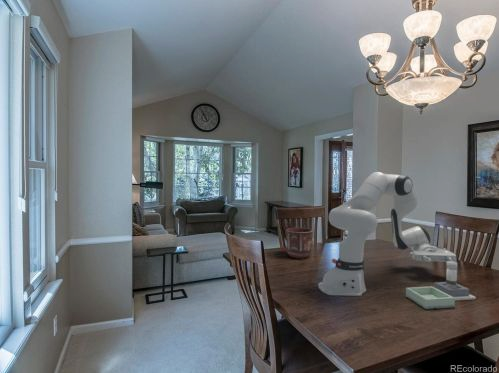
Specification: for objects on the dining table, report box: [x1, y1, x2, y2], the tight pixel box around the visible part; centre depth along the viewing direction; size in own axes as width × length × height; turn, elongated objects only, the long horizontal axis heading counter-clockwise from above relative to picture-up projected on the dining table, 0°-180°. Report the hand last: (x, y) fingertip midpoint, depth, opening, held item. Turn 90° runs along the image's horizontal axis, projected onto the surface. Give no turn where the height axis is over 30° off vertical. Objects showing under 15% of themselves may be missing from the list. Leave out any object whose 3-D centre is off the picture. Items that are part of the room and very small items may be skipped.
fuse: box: [445, 261, 458, 288], centre depth 140 cm, size 4×4×14 cm
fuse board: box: [433, 281, 477, 301], centre depth 141 cm, size 13×13×4 cm
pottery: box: [285, 227, 314, 260], centre depth 204 cm, size 18×18×18 cm
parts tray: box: [405, 285, 456, 310], centre depth 133 cm, size 13×13×4 cm
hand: (440, 260), depth 152 cm, fingers open, 8 cm apart
